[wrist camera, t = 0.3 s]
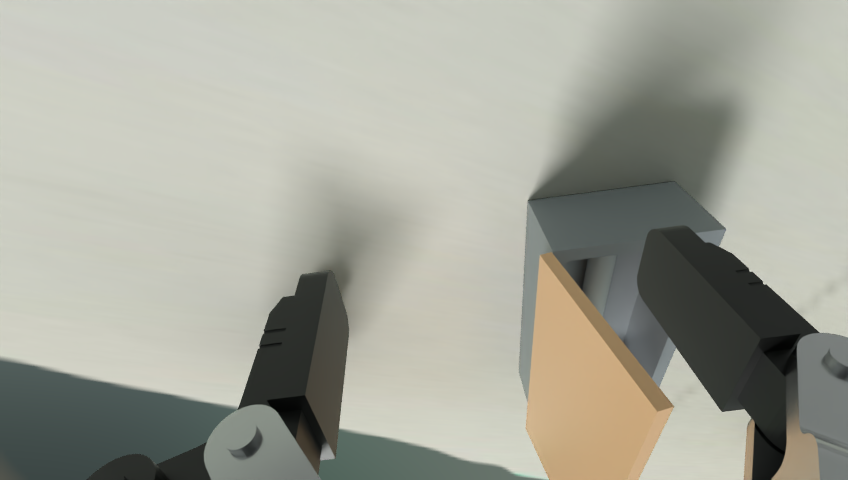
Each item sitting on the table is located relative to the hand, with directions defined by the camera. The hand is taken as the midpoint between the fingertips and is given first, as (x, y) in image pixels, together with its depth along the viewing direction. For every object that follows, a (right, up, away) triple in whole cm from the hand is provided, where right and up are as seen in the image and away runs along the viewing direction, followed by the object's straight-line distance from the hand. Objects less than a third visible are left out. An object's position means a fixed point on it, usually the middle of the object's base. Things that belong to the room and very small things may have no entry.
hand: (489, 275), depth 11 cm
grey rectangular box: (+13, -4, +27) cm, 30 cm away
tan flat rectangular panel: (+9, -12, +18) cm, 23 cm away
